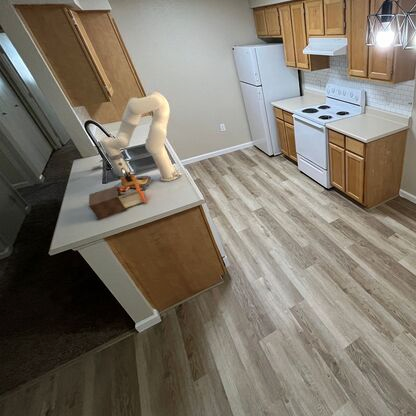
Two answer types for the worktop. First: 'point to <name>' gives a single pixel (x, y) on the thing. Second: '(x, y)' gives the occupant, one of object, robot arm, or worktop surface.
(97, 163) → the worktop surface
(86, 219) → the worktop surface
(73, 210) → the worktop surface
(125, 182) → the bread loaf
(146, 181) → the food plate
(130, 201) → the drawer
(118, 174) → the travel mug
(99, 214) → the cabinet
